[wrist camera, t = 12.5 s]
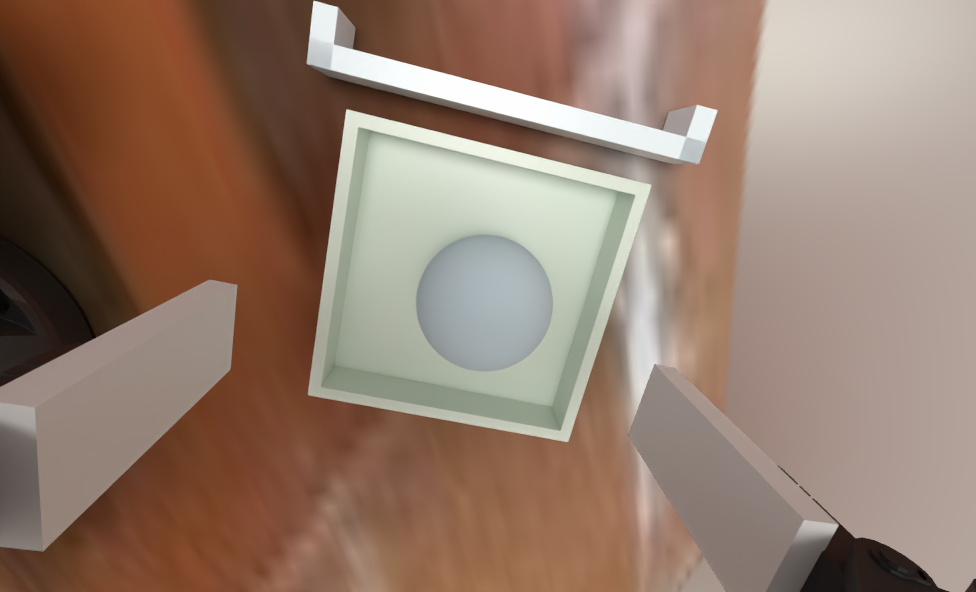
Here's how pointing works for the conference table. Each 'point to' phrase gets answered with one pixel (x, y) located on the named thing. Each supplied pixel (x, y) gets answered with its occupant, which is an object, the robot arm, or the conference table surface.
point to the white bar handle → (501, 98)
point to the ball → (484, 303)
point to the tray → (430, 228)
